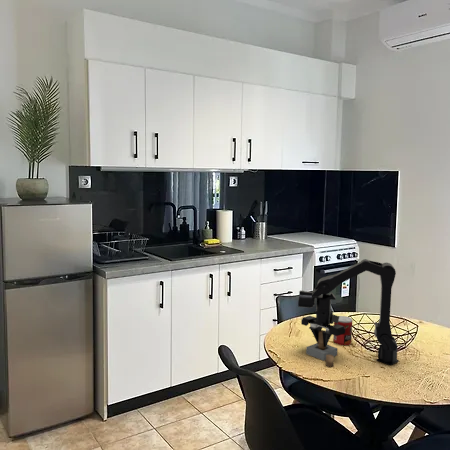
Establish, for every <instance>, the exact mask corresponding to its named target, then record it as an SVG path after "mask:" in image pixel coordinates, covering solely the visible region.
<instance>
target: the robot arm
mask: <svg viewBox="0 0 450 450" xmlns="http://www.w3.org/2000/svg"><path fill="white" fill-rule="evenodd" d="M364 272H369V273H371V274H374V275H377V276H379V278H380V279H379V281H380V300H379V301H380V303H379V304H380V305H379V306H380V307H379V319H378V322H376V321H375V322H374V330H373V332H374V337H375V338H376V340H377V342H378V343H379V346H378V347H377V358H376V362H380V363H383V364H386V365H388V366H393V365H394V364H397V363H398V362H399V361H400V360H399V359H398V344H397V340H396V339H395V337H394V336H393V335H392V328H391V322H390V320H391V319H390V317H391V305H392V304H391V303H392V302H391V301H392V289H393V285H394V282H395V279H396V275H397V274H396V273H397V271H396V269H395V267H394V266H393V264H392V263H390V262H379V261H374V260H369V259H362V260H361V261H359V262H357V263H355V264H353V265H351V266H349V267H348V268H345V269H343V270H342V271H339V272H338V273H335V274H330V275H327V276H323V277H321V278H320V279H319V280H317V284H316V286H315V288H314V289H312V291H307V290H306V291H305V290H299V291H298V293H299V294H298V299H297V300H298V301H297V304H298V305H297V306H298V308H307V309H312V308H314V307H315V306H316V307H315V309H316V310H314V315H315V316H312V315H308V316H307V315H306V316H304V317H302V318H301V320H300V321H301V322H300V323H301V325H302V326H305V327H307V326H309V327H308V329H309V330H310V331H311V333H312V335H313V337H314V339H315V341H316V343H317V344H318V339H319V330H323V329H325V330H324V332H322V333H323V343H324V347H326V346H327V345H329V344H328V343H329V341H330V339H331V337H332V336H334V335H335V336H339V335H341V334H344V333H345V330H346V329H345V327H344V326H341V325H338V320H339V316H340V315H336V314H334V312H333V310H331V308H332V306H331V305H332V300H333V301H334V300H336V298H337V297H336V295H335V294H333V292H332V291H334V290H335V289H337V287H338V286H339V285H341V284H342V283H345V282H346V281H348V280H351V279H352V278H354V277H356V276H358V275H361V274H362V273H364ZM334 322H335V323H337V324H336V325H334Z"/></svg>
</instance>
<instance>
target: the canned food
mask: <svg viewBox="0 0 450 450" xmlns="http://www.w3.org/2000/svg"><path fill="white" fill-rule="evenodd" d="M338 316H339V320H338V325H341V326H344V327H345V329H346V330H345V333H344V334H341V335H339V336H335V335H332V336H333V338H332V339H333V342H334V343H335V344H336V345H339V346H350V345H351V343H352V339H353V319H352V318H351V317H349V316H345V315H338ZM336 324H337V323H335V322H333V325H336Z"/></svg>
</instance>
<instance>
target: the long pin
mask: <svg viewBox="0 0 450 450" xmlns="http://www.w3.org/2000/svg"><path fill="white" fill-rule="evenodd" d="M324 331H325V330H323V329H322V330H319V339H318V349H320V350H325V349H326V347H324V343H323V333H322V332H324Z"/></svg>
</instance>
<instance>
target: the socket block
mask: <svg viewBox="0 0 450 450" xmlns="http://www.w3.org/2000/svg"><path fill="white" fill-rule="evenodd" d="M305 349H306V350H305V354H306V355H308V356H310V357H313V358H316V359H318V360H321V361H324V362H325V361H326V355H333V356H334V357H336V356H338V347H335V346H333V345H329V344H327V346H326V349H325V350H320V349H318V344H317V342H316V343H313V344H311V345H308V346H306V348H305Z"/></svg>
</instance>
